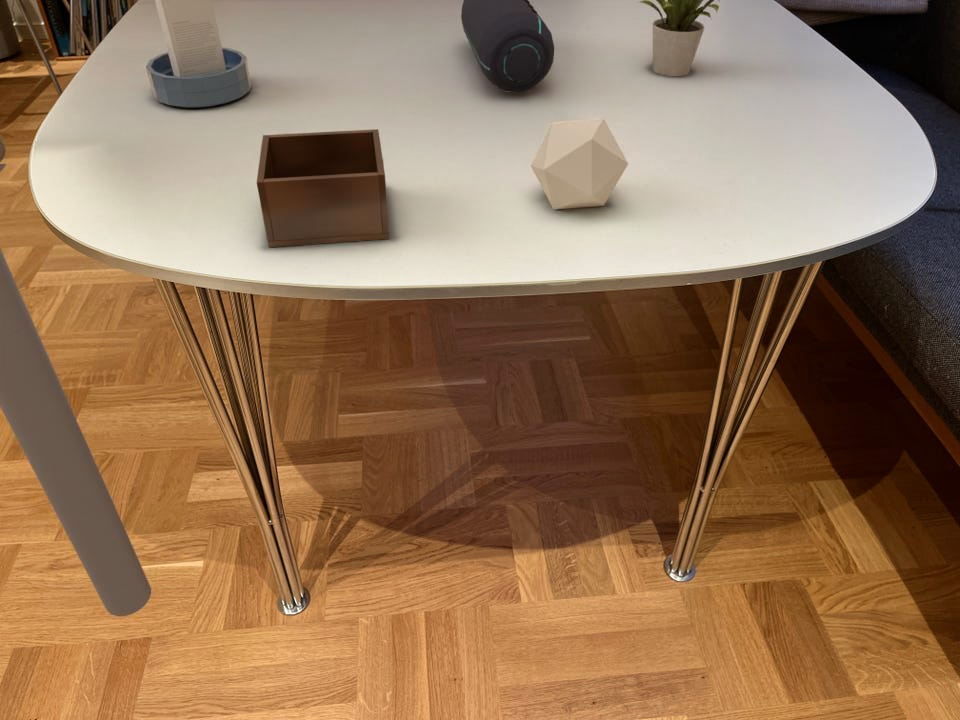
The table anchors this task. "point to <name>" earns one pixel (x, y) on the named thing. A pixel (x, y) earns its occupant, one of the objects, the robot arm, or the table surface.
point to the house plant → (677, 35)
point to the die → (578, 163)
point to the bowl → (199, 82)
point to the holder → (322, 188)
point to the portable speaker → (508, 42)
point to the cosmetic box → (191, 37)
